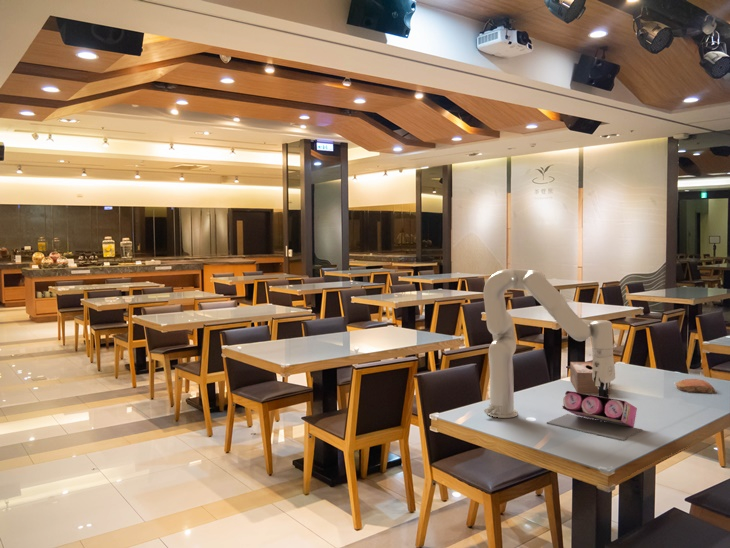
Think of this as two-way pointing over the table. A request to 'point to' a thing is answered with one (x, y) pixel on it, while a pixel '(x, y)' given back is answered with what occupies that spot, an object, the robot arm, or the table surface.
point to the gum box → (600, 408)
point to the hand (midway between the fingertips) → (603, 399)
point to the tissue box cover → (583, 378)
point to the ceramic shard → (695, 386)
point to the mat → (595, 427)
